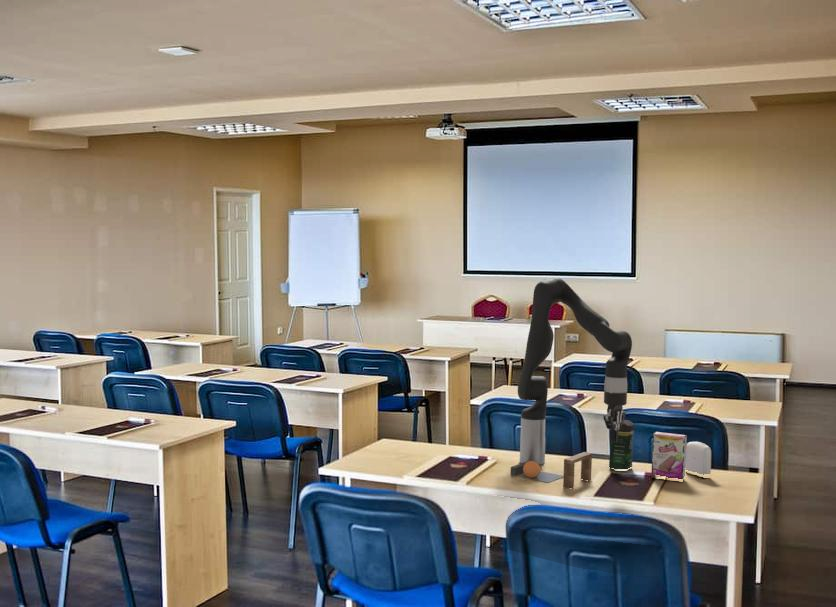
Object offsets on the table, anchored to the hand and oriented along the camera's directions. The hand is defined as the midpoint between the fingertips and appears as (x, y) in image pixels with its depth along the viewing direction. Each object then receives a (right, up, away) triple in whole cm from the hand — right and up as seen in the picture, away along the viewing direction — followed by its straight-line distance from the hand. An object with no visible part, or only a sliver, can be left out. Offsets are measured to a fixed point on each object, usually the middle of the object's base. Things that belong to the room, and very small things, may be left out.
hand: (613, 441), depth 291 cm
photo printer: (+36, -17, +24) cm, 47 cm away
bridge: (-11, -16, +9) cm, 21 cm away
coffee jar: (+10, -16, +31) cm, 36 cm away
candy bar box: (+23, -17, +18) cm, 34 cm away
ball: (-26, -13, +15) cm, 32 cm away
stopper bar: (-28, -15, +23) cm, 39 cm away
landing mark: (-22, -16, +17) cm, 32 cm away
